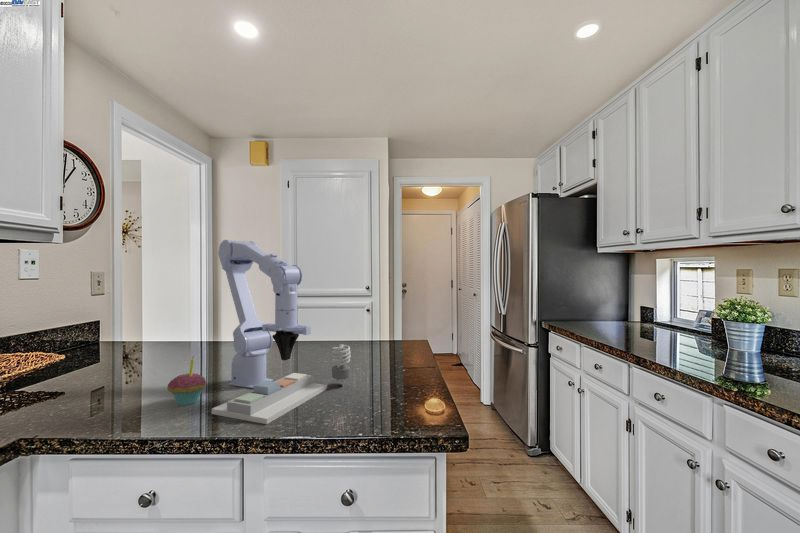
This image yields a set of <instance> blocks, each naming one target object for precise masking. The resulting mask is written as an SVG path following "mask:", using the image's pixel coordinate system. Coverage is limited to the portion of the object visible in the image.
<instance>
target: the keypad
mask: <svg viewBox="0 0 800 533" xmlns="http://www.w3.org/2000/svg"><path fill="white" fill-rule="evenodd" d="M293 373H294V372H292V373H291V374H293ZM286 376H287V375H285V376H283V377H280V378H278V379H277V380H279V379H285V377H286ZM277 380H275V381H277ZM326 390H328V385H327V384H323V383H316V382H314V375H311V374H307V377H306V378H304V379H302V380H300V381H294V383H293V384H291V385H289V386H287V387H285V388H281V387H280V390H279V391H277V392H275V393H272V394H270V395H264V398H262V399H260V400H258V401H256V402H254V403H252V404H246V403H240V402H235V398H233V399H230V400H228V401H226V402H223V403H221V404H220V405H217V406H214V407H212V408H211V415H216V416H220V417H226V418H232V419H236V420H242V421H248V422H252V423H257V424H258V423H259V424H263V425H269V424H270V423H272V422H273V421H275V420H277V419H278V418H280V417H282V416H284V415H285V414H287V413H288V412H290V411H292V410H293V409H295V408H297V407H299V406H301V405H302V404H304V403H306V402H308V401H309V400H311V399H312V398H314V397H317V396H318V395H319V394H321V393H322V392H325V391H326ZM247 393H254V389H252V390H251V391H250V392H249V391H248V392H247ZM247 393H244V394H243V395H245V394H247ZM261 395H262V394H261ZM240 396H241V395H240ZM240 396H238V397H240ZM238 397H236V398H238Z"/></svg>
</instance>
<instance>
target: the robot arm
mask: <svg viewBox="0 0 800 533" xmlns="http://www.w3.org/2000/svg"><path fill="white" fill-rule="evenodd" d="M217 254H218V258H219V261H220V265H221V269H222V270H224V272H225V275H226V278H227V279H226V280H227V282H228V285H229V289H230V293H231V296H232V301H233V303H234V307H235V311H236V315H237V319H238V323H239V324H238V325H237V326H236V327H235V329H234V330H233V332H232V336H233V348H234V351H235V352H236V354H234V356H233V357H232V361H231V380H230V381H231V382H229V384H228V385H229V386H236V387H240V388H241V387H242V388H249V389H254V385H256V384H258V383H260V382H263V381H265V380H268V381H274V379H273V378H267V353H269V350H270V349H271V348H272V346H273V343H274V342H275V343H276V346H277V349H278V352H279V355H280V359H281V361H288V360H290V359H291V356H292V352H293V349H294V346H295V343H296V342H297V340H298V338H299V337H300V335H303V336H309V335H311V330H312V329H311V326H306V325H300V324H298V286H299V285H300V284H301V282H302V280H303V273H302V270H301V268H300V267H299V266H298V264H292V265H290V264H288V263H287V261H285V260H282V259H280V258H279V257H278V254H276V253H268V254H266V252H264V251H262V249H260V248H259V246H258V243H255V242H254V241H251V240H250V241H246V240H245V241H244V240H243V241H242V240H231V239H230V240H229V239H223V240H222V241H221V243H220V244H219V248H218V252H217ZM254 263H256V264H257V265H258V269H259V270H260V272H262V273H263V274H264V275H266V276H268V277H269V278H270V281H271V284H272V287H273V288H272V290H273V293H274V294H275V295H274V297H275V298H274V301H275V303H274V305H275V306H274V308H275V309H274V323H266V322H264V321H262V320H260V319H259V318H258V315H257V311H256V307H255V305H254V300H253V298H252V293H251V291H250V286H249V284H248V279H247V276H246V272H248V271H249V270H250V269H251V268H252V265H253V264H254ZM272 332H273V333H274V332H275V334H273V333H272Z"/></svg>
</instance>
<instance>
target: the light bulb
mask: <svg viewBox="0 0 800 533" xmlns="http://www.w3.org/2000/svg"><path fill="white" fill-rule="evenodd" d="M338 346H339V347H338ZM338 346H337V347H336V346H334V347H332V348H331V350H332V351H331V354H332V355H331V361H332V363H338V364H336V365H332V367H331V376H332V378H333V379H335V380H336V383H337V384H338V385H339V386H343V385H344V384H345V383H346V379H348V378H350V376H351V366H350V365H348V364H349V363H350V362H351V357H352V355H351V354H352V352H351V347H350V345H346V344H342V343H339V344H338Z"/></svg>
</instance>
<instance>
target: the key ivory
mask: <svg viewBox="0 0 800 533" xmlns="http://www.w3.org/2000/svg"><path fill="white" fill-rule="evenodd" d="M292 373H293V374H292ZM292 373H290V374H288V375H285V376H286V377H285V376H284V377H285V379H287V380H294V381H300V380H302V379H304V378H306V377H307V375H308V374H307V373H298V372H292Z"/></svg>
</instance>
